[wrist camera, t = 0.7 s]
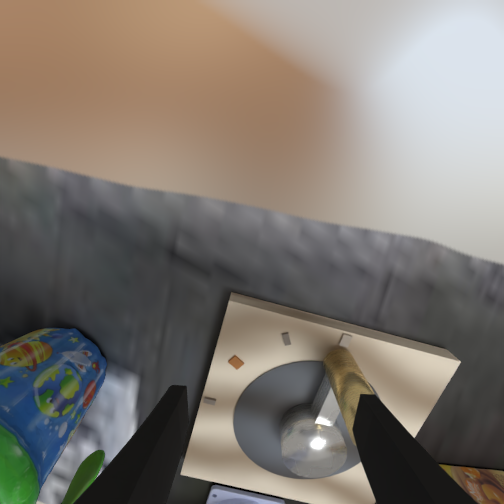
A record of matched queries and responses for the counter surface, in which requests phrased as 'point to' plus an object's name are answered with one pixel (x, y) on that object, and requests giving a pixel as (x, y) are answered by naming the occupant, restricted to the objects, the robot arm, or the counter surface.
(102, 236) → the counter surface
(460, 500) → the robot arm
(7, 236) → the counter surface
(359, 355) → the dial housing
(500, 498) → the candy box
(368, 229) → the counter surface
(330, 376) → the gold and silver piece
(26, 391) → the snack cup
